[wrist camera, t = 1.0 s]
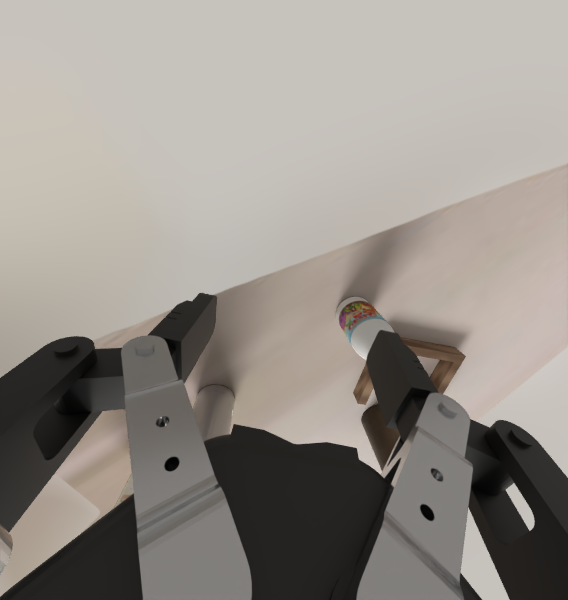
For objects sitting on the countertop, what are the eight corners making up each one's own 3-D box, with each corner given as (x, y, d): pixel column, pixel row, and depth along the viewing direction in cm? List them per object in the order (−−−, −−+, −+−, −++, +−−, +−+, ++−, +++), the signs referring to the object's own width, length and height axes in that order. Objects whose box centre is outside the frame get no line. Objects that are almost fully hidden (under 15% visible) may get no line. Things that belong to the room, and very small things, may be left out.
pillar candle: (357, 410, 65) (381, 468, 51) (392, 399, 64) (426, 455, 50) (365, 433, 68) (389, 493, 55) (399, 423, 67) (432, 481, 54)
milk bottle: (376, 310, 53) (433, 368, 35) (350, 333, 55) (391, 400, 37) (354, 288, 51) (402, 338, 33) (328, 313, 53) (359, 373, 34)
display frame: (422, 403, 65) (430, 413, 62) (353, 393, 62) (357, 403, 59) (455, 347, 58) (465, 356, 55) (379, 333, 56) (385, 341, 52)
